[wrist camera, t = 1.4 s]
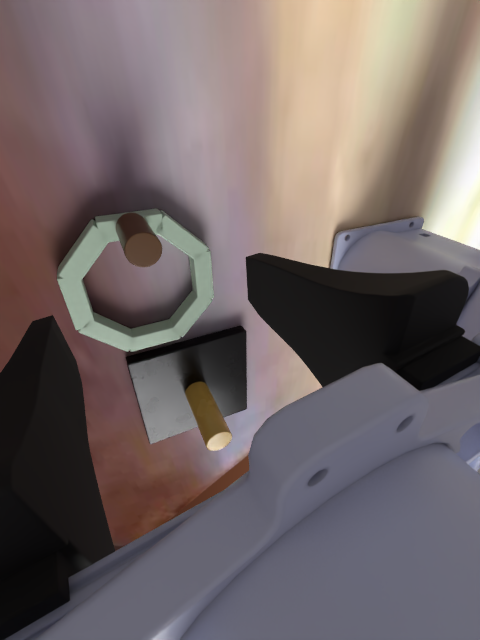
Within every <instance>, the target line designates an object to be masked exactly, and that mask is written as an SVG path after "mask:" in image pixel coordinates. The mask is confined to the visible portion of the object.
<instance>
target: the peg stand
mask: <svg viewBox="0 0 480 640" xmlns="http://www.w3.org/2000/svg"><path fill="white" fill-rule="evenodd" d="M126 361H127V365H128V369H129V372H130V376H131V380H132V383H133V387H134V390H135V394H136V397H137V401H138V404H139V408H140V411H141V415H142V418H143V422H144V425H145V429H146V432H147V436H148V440H149V443H150V444H153V443H155V442H158V441H161V440H163V439H166V438H169V437H172V436H174V435H177V434H180V433H183V432H185V431H188V430H191V429H193V428H196V427H198V428H199V430H200V432H201V435H202V437H203V440H204V442H205V445H206V447H207V449H209V450H210V451H217V450H220V449H222V448H224V447H226V446H227V445H228V444H229V443H230V441H231V439H232V434H231V432H230V430H229V428H228V426H227V424H226V422H225V420H224V418H223V417H226V416H229V415H232V414H234V413H237V412H240V411H242V410H245V409H247V377H246V331H245V329H244V328H243V327H242V326H238V327H234V328H230V329H227V330H223V331H219V332H216V333H212V334H208V335H205V336H201V337H197V338H194V339H190V340H186V341H183V342H179V343H175V344H172V345H168V346H164V347H161V348H157V349H153V350H150V351H146V352H142V353H139V354H135V355H131V356H128V357H126Z"/></svg>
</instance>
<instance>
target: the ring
mask: <svg viewBox="0 0 480 640" xmlns="http://www.w3.org/2000/svg"><path fill="white" fill-rule="evenodd" d="M95 220H96V221H94V220H90V222H89V223H88V225H87V226H86V227H85V229H84V230H83V232H82V233H81V235H80V236H79V238H78V239H77V241H76V242H75V243H74V245H73V246H72V248H71V249H70V251H69V252H68V254H67V255H66V256H65V258H64V259H63V261H62V262H61V264H60V265H59V267H58V271H57V281H58V283H59V286H60V289H61V292H62V294H63V297H64V300H65V302H66V305H67V308H68V310H69V313H70V316H71V318H72V321H73V324H74V326H75V329H76V330H78V332H79V333H82V334H84V335H87V336H89V337H92V338H94V339H97V340H99V341H102V342H104V343H107V344H109V345H112V346H114V347H117V348H119V349H122V350H124V351H127V352H128V351H129V350H130V351H131V352H133V351H137V350H140V349H144V348H148V347H152V346H155V345H159V344H163V343H166V342H170V341H174V340H177V339H180V336H181V337H183V336H184V335H185V334H186V333H187V332H188V330H189V329H190V328H191V327H192V325H193V324H194V323H195V322H196V320H197V319H198V318H199V317H200V315H201V314H202V313H203V312H204V311H205V309H206V308H207V307H208V306H209V304H210V303H211V302H212V299H211V298H214V294H213V280H212V266H211V252H210V250H209V249H208V247H207V246H206V244H205V243H204V242H202V241H201V240H200V239H199V238H197V237H196V236H195V235H193V234H192V233H191V232H189V231H188V230H187V229H186V228H184V227H183V226H182V225H180V224H179V223H178V222H177V221H175V220H174V219H173V218H171V217H170V216H169V215H167V214H166V213H165V212H164V211H162V210H160V211H159V210H158V209H149V210H142V211H134V212H126V213H119V214H111V215H104V216H96V217H95ZM157 234H158V235H160V236H161V237H163V238H164V239H166V240H167V241H168V242H170V243H171V244H173V245H174V246H175V247H177V248H178V249H180V250H181V251H182V252H184V253H185V254H187V255H188V256H189V262H190V270H191V279H192V288H193V290H192V291H191V293H190V294H189V295H188V296H187V298H186V299H185V300H184V301H183V303H182V304H181V305H180V306H179V308H178V309H177V310H176V311H175V313H174V314H173V315H172V317H171V318H170V319H168V320H164V321H160V322H156V323H152V324H148V325H144V326H140V327H136V328H132V329H130V328H128V327H126V326H123V325H121V324H119V323H117V322H115V321H112V320H110V319H108V318H106V317H103V316H101V315H99V314H97V313H95V312H93V309H92V306H91V303H90V300H89V297H88V294H87V291H86V288H85V285H84V281H83V277H84V276H85V275H86V273H87V272H88V270H89V269H90V268H91V266H92V265H93V263H94V262H95V261H96V259H97V258H98V256H99V255H100V254H101V252H102V251H103V249H104V248H105V247H106V245H107V244H108V242H113V241H120V243H121V246H122V248H123V251H124V253H125V256H126V258H127V259H128V261H129V262H130V263H132V264H133V265H135V266H138V267H149V266H151V265H153V264H155V263H156V262H157V261H158V260H159V258H160V257H161V254H162V245H161V242H160V241H159V239H158V238H157V236H156V235H157Z"/></svg>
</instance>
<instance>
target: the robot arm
mask: <svg viewBox="0 0 480 640" xmlns="http://www.w3.org/2000/svg"><path fill="white" fill-rule="evenodd" d="M423 223H424V219H423V218H422V217H413V218H408V219H403V220H397V221H392V222H387V223H382V224H376V225H371V226H366V227H361V228H355V229H350V230H345V231H340V232H338V233H337V234H336V236H335V240H334V246H333V253H332V260H331V266H330V268H325V267H320V266H314V265H310V264H306V263H301V262H297V261H293V260H289V259H285V258H281V257H277V256H273V255H268V254H263V253H258V254H254V255H251V256H248V257H246V270H247V288H248V300H249V302H250V303H251V304H252V306H253V307H254V309H255V310H256V311H257V313H258V314H259V315H260V317H261V318H262V319H263V320H264V321H265V322H266V323H267V324H268V325H269V326H270V327H271V328H272V329H273V330H274V331H275V332H276V333H277V334H278V335H279V336H280V337H281V338H282V339H283V340H284V341H285V342H286V343H287V344H288V345H289V346H290V347H291V348H292V349H293V350H294V351H295V352H296V353H297V354H298V356H299V357H300V358H301V359H302V360H303V362H304V363H305V364H306V365H307V367H308V368H309V369H310V371H311V372H312V373H313V374H314V376H315V377H316V379H317V380H318V381H319V383H320V384H321V385H322V387H323V388H321V389H319V390H317V391H315V392H313V393H311V394H309V395H307V396H305V397H303V398H301V399H299V400H297V401H295V402H293V403H291V404H289V405H287V406H285V407H283V408H282V409H281V410H279V411H278V412H276V413H275V414H273V415H272V416H271V417H269V418H268V419H267V420H266V421H265V422H264V424H263V425H262V426H261V427H260V428H259V430H258V431H257V432H256V433H255V435H254V437H253V441H252V444H251V448H250V451H249V455H248V456H249V467H250V470H249V471H248V472H247V473H245V474H244V475H243V476H241V477H240V478H239V479H238V480H236V481H235V482H234V483H233V484H231V485H230V486H229V487H227V488H226V489H225V490H223V491H222V492H220V493H218V494H216V495H214V496H213V497H211V498H209V499H207V500H206V501H204V502H202V503H200V504H199V505H197V506H195V507H193V508H191V509H190V510H188V511H186V512H184V513H183V514H181V515H179V516H177V517H175V518H174V519H172V520H170V521H168V522H167V523H165V524H163V525H161V526H159V527H158V528H156V529H154V530H152V531H151V532H149V533H147V534H145V535H143V536H142V537H140V538H138V539H136V540H135V541H133V542H131V543H129V544H128V545H126V546H124V547H122V548H121V549H119V550H117V551H115V549H114V545H113V542H112V538H111V534H110V531H109V527H108V523H107V519H106V515H105V512H104V508H103V504H102V500H101V496H100V492H99V488H98V484H97V480H96V475H95V471H94V467H93V462H92V458H91V454H90V449H89V443H88V435H87V425H86V416H85V406H84V397H83V388H82V382H81V378H80V374H79V370H78V366H77V363H76V360H75V358H74V356H73V354H72V352H71V350H70V348H69V346H68V344H67V342H66V340H65V338H64V336H63V334H62V332H61V330H60V328H59V326H58V324H57V322H56V320H55V318H54V317H53V315H52V316H49V317H45V318H42V319H39V320H35V321H32V323H31V325H30V326H29V328H28V330H27V331H26V333H25V335H24V337H23V338H22V340H21V342H20V344H19V345H18V347H17V349H16V350H15V352H14V354H13V355H12V357H11V358H10V360H9V362H8V363H7V364H6V366H5V367H4V369H3V370H2V372H1V373H0V640H480V474H479V473H478V472H477V470H479V469H480V250H478V249H476V248H473V247H470V246H467V245H465V244H462V243H459V242H456V241H454V240H451V239H448V238H445V237H443V236H440V235H437V234H434V233H432V232H429V231H426V230H423V229H422V226H423ZM346 235H347V237H346ZM345 237H346V238H345Z"/></svg>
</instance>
